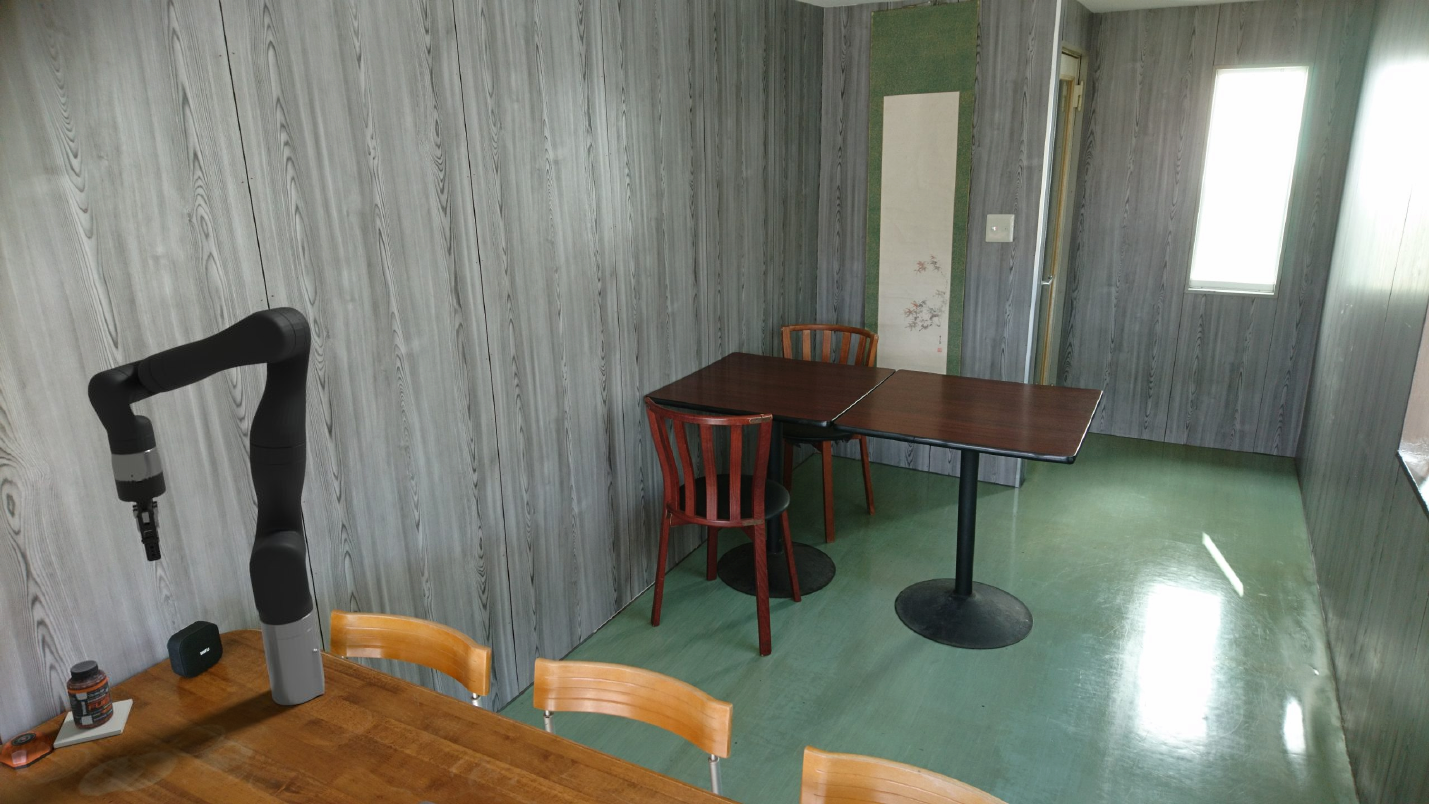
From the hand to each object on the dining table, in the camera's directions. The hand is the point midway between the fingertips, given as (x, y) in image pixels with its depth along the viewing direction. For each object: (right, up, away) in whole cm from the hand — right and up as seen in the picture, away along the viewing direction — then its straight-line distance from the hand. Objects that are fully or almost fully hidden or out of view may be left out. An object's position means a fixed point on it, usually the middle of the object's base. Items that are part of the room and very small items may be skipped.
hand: (153, 551), depth 162 cm
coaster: (-7, -31, -6) cm, 32 cm away
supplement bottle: (-7, -30, -6) cm, 32 cm away
